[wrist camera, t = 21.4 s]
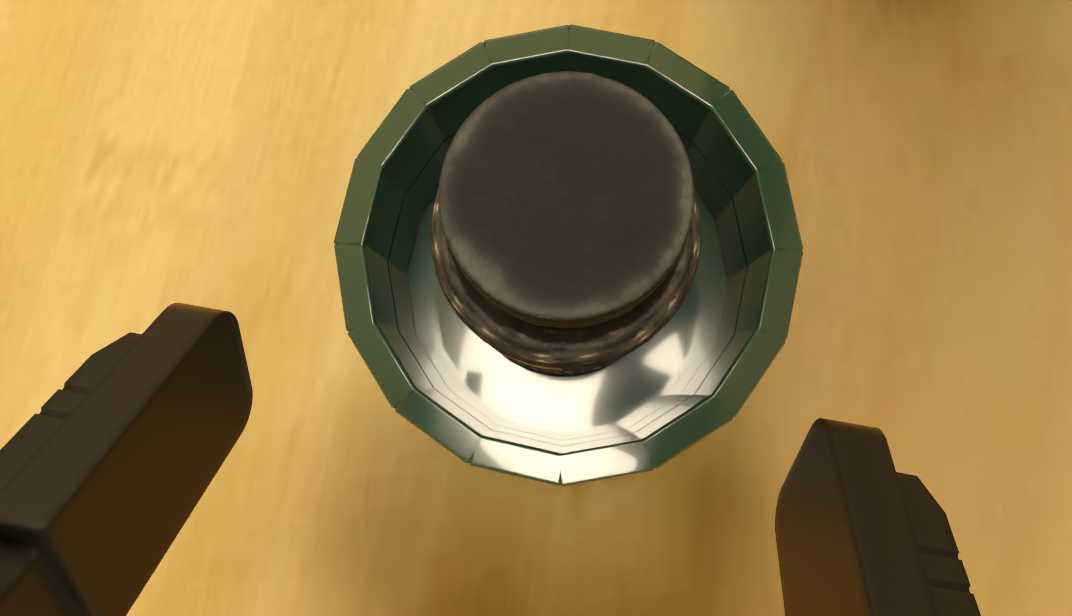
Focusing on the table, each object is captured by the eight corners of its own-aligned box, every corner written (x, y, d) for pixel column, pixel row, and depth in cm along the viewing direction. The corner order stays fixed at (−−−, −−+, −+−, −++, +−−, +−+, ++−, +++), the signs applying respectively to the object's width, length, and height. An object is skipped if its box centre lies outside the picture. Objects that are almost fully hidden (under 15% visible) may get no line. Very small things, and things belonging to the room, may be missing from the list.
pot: (523, 50, 26) (510, -53, 20) (812, 237, 25) (890, 187, 19) (323, 325, 25) (246, 303, 19) (611, 534, 24) (626, 580, 18)
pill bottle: (473, 379, 24) (393, 367, 13) (470, 198, 24) (391, 38, 13) (663, 374, 23) (747, 356, 13) (654, 190, 24) (725, 22, 13)
